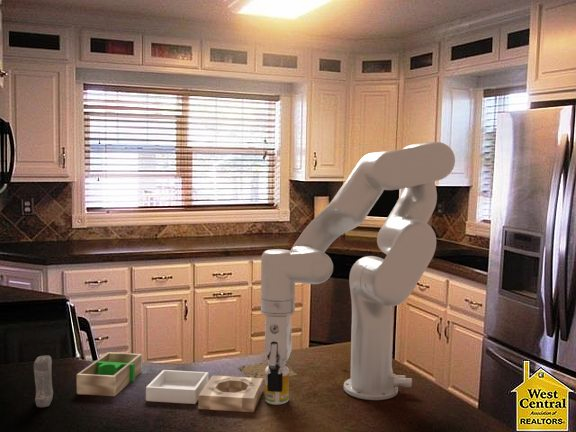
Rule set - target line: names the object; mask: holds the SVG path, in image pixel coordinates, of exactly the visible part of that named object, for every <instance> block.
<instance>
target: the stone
mask: <svg viewBox="0 0 576 432" xmlns="http://www.w3.org/2000/svg"><path fill="white" fill-rule="evenodd" d="M52 363H53V361H52V357H51V356H50V355H49V354H48V355H46V354H45V355H40V356H38V357H36V359H35V360H34V363H33V374H34V383H35V398H34V401H35V405H36V407H37V408H46V407H49V406H50V405H51V402H52V401H53V395H54V389H53V378H52Z"/></svg>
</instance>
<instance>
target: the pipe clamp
mask: <svg viewBox="0 0 576 432" xmlns="http://www.w3.org/2000/svg"><path fill="white" fill-rule="evenodd" d="M95 361H96V360H93V361H92V363H94V362H95ZM92 363H91V364H92ZM127 364H128V363H119V362H104V361H98V362H97V369H98V372H97V375H112V376H113V375H114V374H116V373H117V372H118V371H119V370H121V369H122V368H123V367H124V366H125V365H127ZM135 381H136V377H135V364H134V363H131V364H130V383H134V382H135Z"/></svg>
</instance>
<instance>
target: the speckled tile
mask: <svg viewBox="0 0 576 432" xmlns="http://www.w3.org/2000/svg"><path fill="white" fill-rule="evenodd" d="M268 365H269V364H268V361H267V362H260V363H255V364H248V365H242V366H238V367H237V369H238V370H239V369H240V371H241V372H242V371H243V372H244V373H245V374H244V373H243V372H242V373H243V374H244V375H246V374H247V375H248V376H249V377H250V378H263V382H265V369H266V367H267V366H268ZM288 369H289V378H291V377H296V376H299V375H298V374H297V372H295V371H294V370H292V369H290V368H289V367H288ZM247 375H246V376H247ZM248 376H247V377H248Z"/></svg>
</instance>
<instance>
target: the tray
mask: <svg viewBox="0 0 576 432" xmlns="http://www.w3.org/2000/svg"><path fill="white" fill-rule="evenodd" d="M209 380H210V378H209V372H207V371H205V372H204V371H189V370H172V369H170V370H169V369H163V370H161V372H159V373H158V374H157V375H156V376H155V377H154V378H153V379H152V380H151V382H150V383H149V384H147V385H146V387H145V401H146V402H159V403H173V404H192V405H196V403H198V395H199V394H200V392H201V391H202V390H203V388H204V387H205V385H206V384H207V383H208V381H209Z"/></svg>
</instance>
